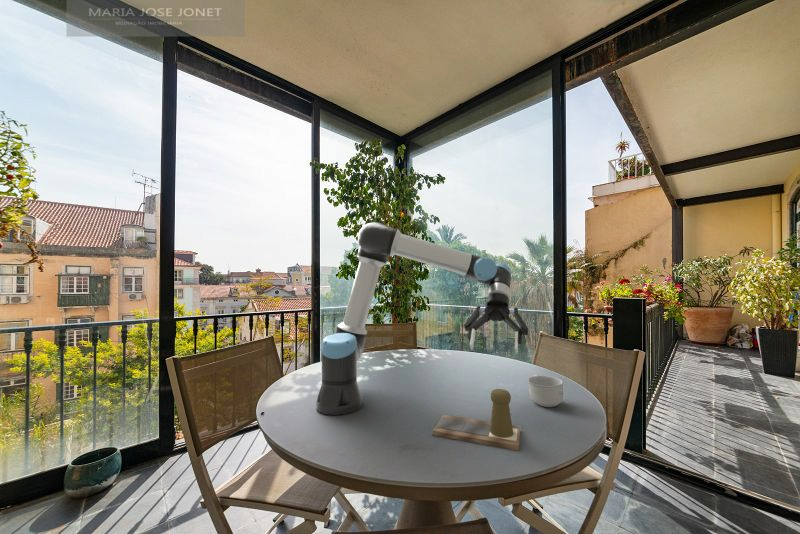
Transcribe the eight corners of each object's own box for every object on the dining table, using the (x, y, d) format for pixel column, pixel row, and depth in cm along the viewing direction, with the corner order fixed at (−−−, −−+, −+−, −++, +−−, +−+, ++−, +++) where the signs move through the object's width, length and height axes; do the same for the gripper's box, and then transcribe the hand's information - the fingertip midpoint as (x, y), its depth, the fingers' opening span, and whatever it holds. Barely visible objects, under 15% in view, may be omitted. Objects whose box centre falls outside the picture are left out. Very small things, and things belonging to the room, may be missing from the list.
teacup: (568, 411, 101) (567, 385, 101) (531, 409, 103) (531, 384, 104) (556, 395, 115) (555, 373, 115) (524, 393, 117) (523, 371, 117)
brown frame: (432, 435, 87) (432, 430, 87) (443, 418, 97) (443, 414, 97) (518, 450, 78) (518, 445, 78) (520, 430, 89) (520, 426, 89)
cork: (514, 429, 87) (513, 388, 87) (512, 439, 81) (511, 395, 82) (491, 425, 89) (490, 385, 90) (488, 434, 84) (487, 392, 84)
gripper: (536, 306, 112) (536, 360, 97) (465, 304, 122) (455, 352, 107) (535, 292, 107) (536, 346, 93) (461, 290, 117) (451, 339, 103)
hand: (493, 349), depth 100 cm, fingers open, 13 cm apart
